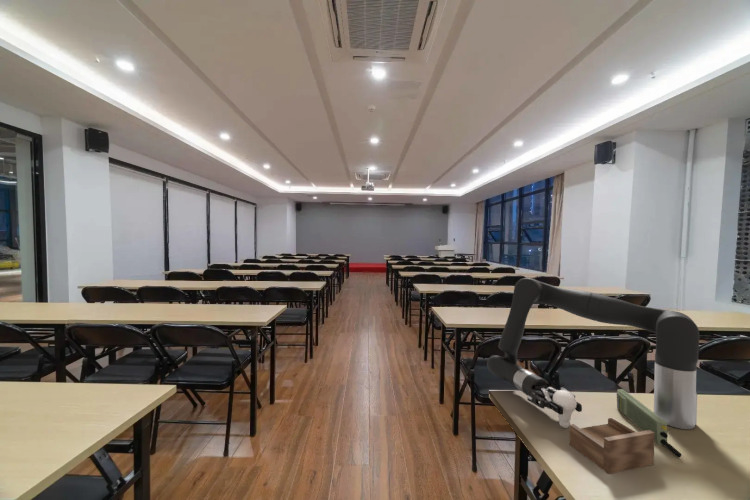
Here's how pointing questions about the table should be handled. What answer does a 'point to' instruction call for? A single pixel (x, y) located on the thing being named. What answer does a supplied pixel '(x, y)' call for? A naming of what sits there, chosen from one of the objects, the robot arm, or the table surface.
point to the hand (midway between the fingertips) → (571, 409)
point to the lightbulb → (565, 406)
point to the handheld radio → (644, 418)
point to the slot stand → (614, 446)
